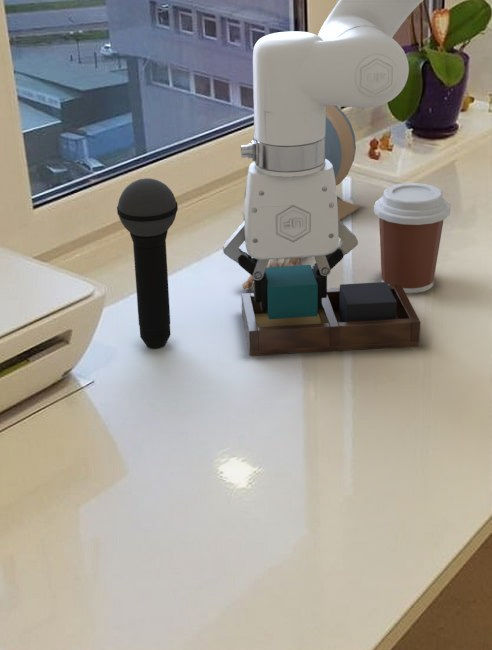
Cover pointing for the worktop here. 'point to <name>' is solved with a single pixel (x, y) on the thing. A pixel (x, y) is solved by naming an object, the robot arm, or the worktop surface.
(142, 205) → the microphone
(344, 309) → the charcoal block
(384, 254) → the coffee cup
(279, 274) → the teal block
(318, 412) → the worktop surface
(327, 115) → the alarm clock
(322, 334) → the brown wooden divided tray
